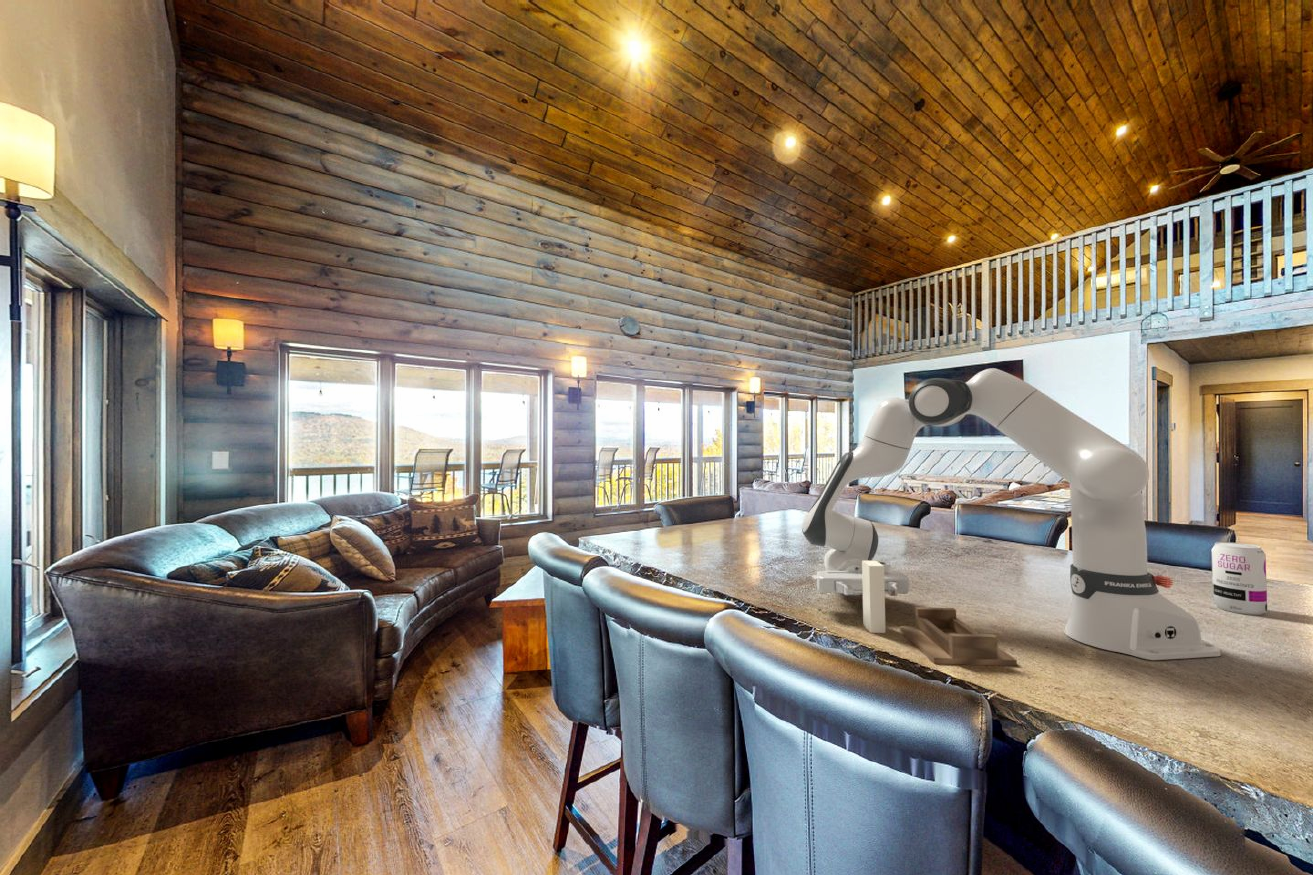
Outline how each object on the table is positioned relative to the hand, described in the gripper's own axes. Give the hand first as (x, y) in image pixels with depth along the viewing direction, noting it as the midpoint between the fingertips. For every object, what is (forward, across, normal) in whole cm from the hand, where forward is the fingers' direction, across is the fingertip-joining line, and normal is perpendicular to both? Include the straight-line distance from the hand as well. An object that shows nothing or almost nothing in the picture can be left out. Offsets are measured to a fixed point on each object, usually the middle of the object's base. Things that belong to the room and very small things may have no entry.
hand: (871, 591), depth 109 cm
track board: (+10, +12, +7) cm, 18 cm away
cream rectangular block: (+2, 0, +7) cm, 8 cm away
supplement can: (-16, +87, +8) cm, 89 cm away
